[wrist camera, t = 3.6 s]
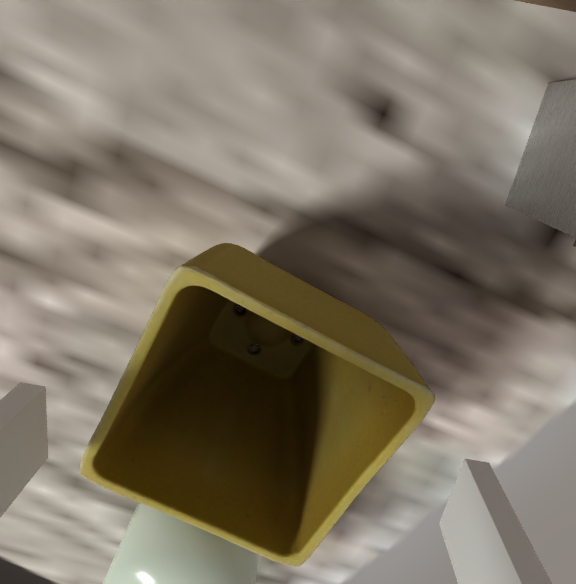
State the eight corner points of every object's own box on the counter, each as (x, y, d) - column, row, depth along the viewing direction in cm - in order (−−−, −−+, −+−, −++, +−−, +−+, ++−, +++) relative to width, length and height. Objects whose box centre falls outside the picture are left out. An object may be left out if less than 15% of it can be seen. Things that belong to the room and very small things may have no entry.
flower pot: (231, 199, 20) (176, 259, 12) (392, 289, 21) (444, 400, 13) (157, 346, 23) (72, 476, 15) (301, 417, 24) (298, 573, 16)
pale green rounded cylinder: (148, 521, 28) (99, 644, 22) (153, 434, 25) (100, 543, 19) (256, 538, 28) (241, 665, 22) (273, 453, 26) (261, 569, 19)
